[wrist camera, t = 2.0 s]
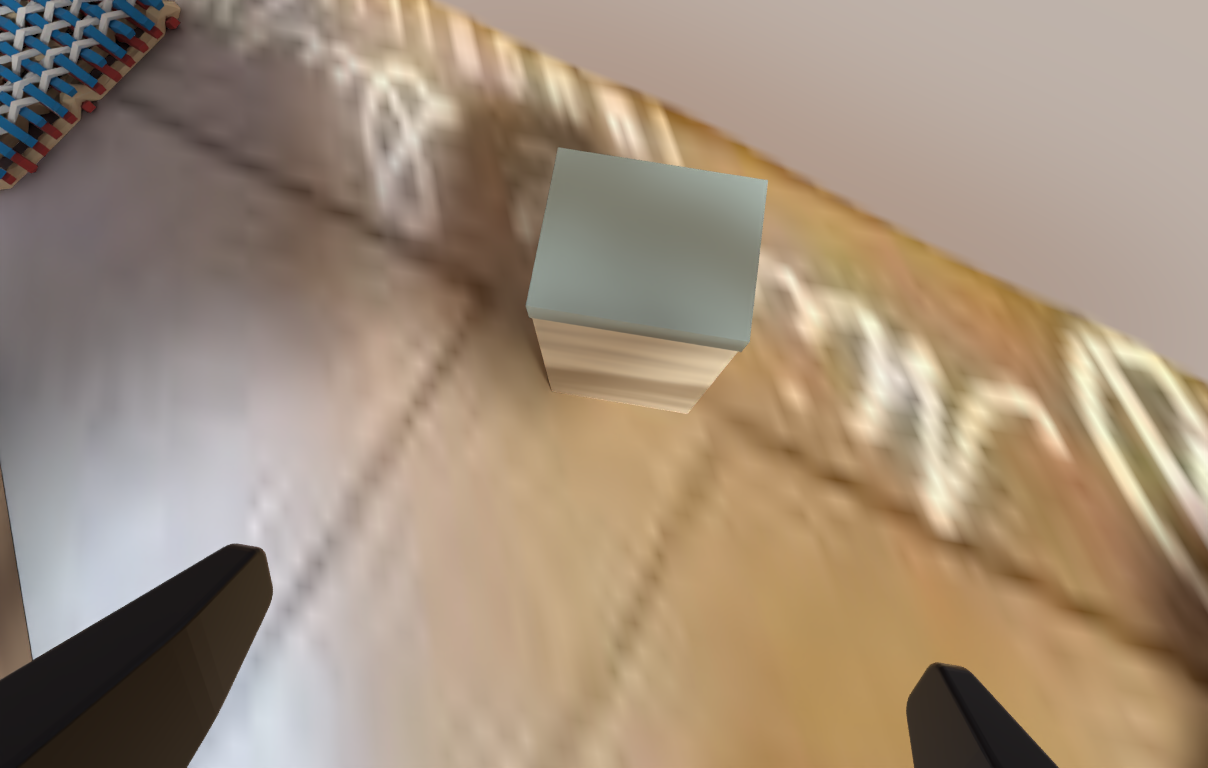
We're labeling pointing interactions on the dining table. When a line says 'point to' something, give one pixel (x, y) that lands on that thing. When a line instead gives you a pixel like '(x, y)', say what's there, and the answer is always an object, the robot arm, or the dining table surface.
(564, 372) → the beech block
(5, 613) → the base
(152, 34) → the woven mat
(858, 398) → the dining table surface
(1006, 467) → the dining table surface
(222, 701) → the robot arm
